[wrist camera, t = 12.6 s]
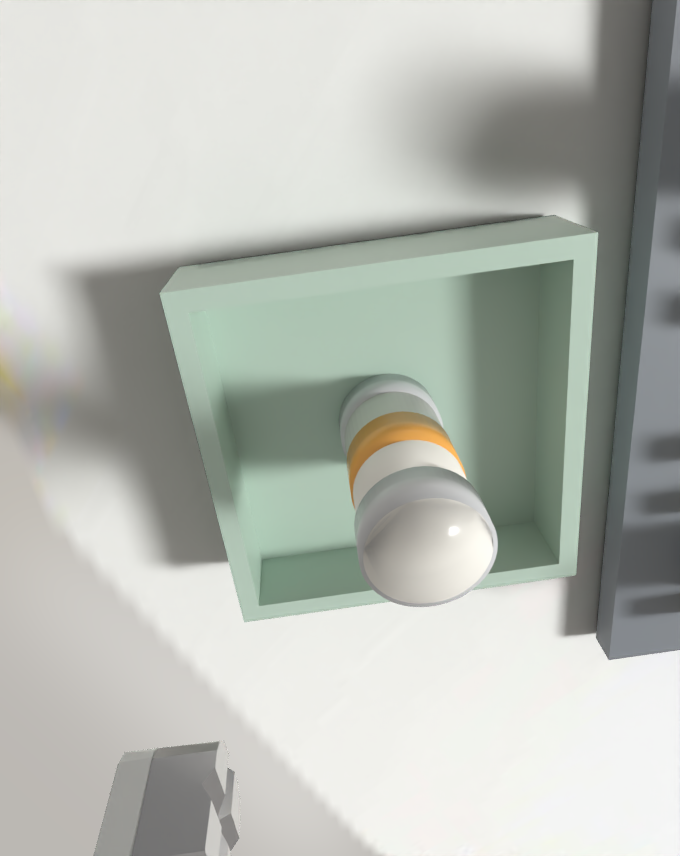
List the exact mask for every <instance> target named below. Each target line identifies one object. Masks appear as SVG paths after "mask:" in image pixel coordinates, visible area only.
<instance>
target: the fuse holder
mask: <svg viewBox="0 0 680 856" xmlns="http://www.w3.org/2000/svg"><path fill="white" fill-rule="evenodd" d="M596 639H597V640H598V642H599V644H600V646H601V647H602V649H603V651H604V652H605V654H606V656H607V658H608V659H609V660H612V659H619V658H626V657H633V656H640V655H647V654H654V653H661V652H668V651H676V650H680V0H653V2H652V13H651V24H650V36H649V47H648V58H647V69H646V81H645V92H644V103H643V115H642V126H641V137H640V148H639V160H638V171H637V182H636V193H635V205H634V216H633V227H632V239H631V250H630V261H629V272H628V284H627V295H626V306H625V317H624V329H623V340H622V351H621V363H620V374H619V385H618V396H617V408H616V419H615V430H614V442H613V453H612V464H611V475H610V487H609V498H608V509H607V520H606V532H605V543H604V554H603V566H602V577H601V588H600V599H599V611H598V622H597V633H596Z"/></svg>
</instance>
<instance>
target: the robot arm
mask: <svg viewBox="0 0 680 856" xmlns="http://www.w3.org/2000/svg"><path fill="white" fill-rule="evenodd" d="M228 755H229V753H228V751H227V748H226V745H225V742H224V741H216V742H208V743H199V744H191V745H182V746H174V747H165V748H154V749H147V750H140V751H132V752H126V753H124V755H123V757H122V758H121V760H120V762H119V764H118V766H117V770H116V774H115V777H114V781H113V785H112V788H111V792H110V796H109V800H108V803H107V807H106V811H105V815H104V819H103V822H102V826H101V829H100V833H99V837H98V841H97V844H96V848H95V852H94V856H232V855H231V852H230V851H231V850H232V848H233V847H234V845H235V844H236V842H237V841H238V839H239V834H240V818H241V816H240V795H239V788H238V782H237V779H236V776H235V772H234V771H232V770H231V769H229V768H227V767H228Z"/></svg>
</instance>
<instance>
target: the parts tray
mask: <svg viewBox="0 0 680 856" xmlns="http://www.w3.org/2000/svg"><path fill="white" fill-rule="evenodd" d="M597 246H598V232H596V231H594V230H591V229H589V228H586V227H584V226H581V225H579V224H576V223H573V222H571V221H568V220H566V219H563V218H561V217H558V216H556V215H551V216H543V217H536V218H529V219H522V220H514V221H507V222H500V223H493V224H486V225H478V226H471V227H464V228H457V229H450V230H442V231H435V232H428V233H421V234H414V235H406V236H399V237H392V238H385V239H378V240H370V241H363V242H356V243H349V244H342V245H334V246H327V247H320V248H313V249H306V250H298V251H291V252H284V253H277V254H269V255H262V256H255V257H248V258H241V259H233V260H226V261H219V262H212V263H205V264H197V265H190V266H183V267H179V268H178V269H177V270H176V272H175V273H174V274H173V276H172V277H171V278H170V280H169V281H168V282H167V284H166V285H165V286H164V288H163V289H162V290H161V292H160V293H159V294H160V298H161V301H162V305H163V309H164V313H165V317H166V321H167V325H168V329H169V332H170V336H171V340H172V344H173V348H174V352H175V356H176V360H177V363H178V367H179V371H180V375H181V379H182V383H183V387H184V391H185V394H186V398H187V402H188V406H189V410H190V414H191V418H192V422H193V425H194V429H195V433H196V437H197V441H198V445H199V449H200V452H201V456H202V460H203V464H204V468H205V472H206V476H207V480H208V483H209V487H210V491H211V495H212V499H213V503H214V507H215V511H216V514H217V518H218V522H219V526H220V530H221V534H222V538H223V542H224V545H225V549H226V553H227V557H228V561H229V565H230V569H231V573H232V576H233V580H234V584H235V588H236V592H237V596H238V600H239V603H240V607H241V611H242V615H243V619H244V622H249V621H257V620H264V619H271V618H278V617H285V616H292V615H299V614H306V613H313V612H320V611H328V610H335V609H342V608H349V607H356V606H363V605H370V604H377V603H384V602H391V601H389V600H387V599H385V598H383V597H382V596H380V595H379V594H377V593H376V592H375V591H374V590H373V589H372V588H371V587H370V586H369V585H368V584H367V582H366V581H365V579H364V577H363V575H362V573H361V570H360V565H359V560H358V553H357V546H356V539H355V532H354V520H355V515H356V512H355V509H354V506H353V503H352V498H351V492H350V485H349V479H348V472H347V462H346V461H347V457H346V455H345V453H344V451H343V448H342V443H341V436H340V429H339V413H340V408H341V406H342V403H343V401H344V399H345V398H346V396H347V395H348V393H349V392H350V391H351V390H352V389H353V388H354V387H355V386H356V385H358V384H359V383H361V382H362V381H364V380H366V379H368V378H370V377H373V376H376V375H381V374H400V375H404V376H408V377H410V378H412V379H414V380H416V381H418V382H419V383H420V384H422V385H423V386H424V387H425V388H426V389H427V391H428V392H429V394H430V395H431V397H432V399H433V401H434V403H435V405H436V407H437V409H438V411H439V414H440V416H441V418H442V422H443V429H444V430H445V431H446V433H447V434H448V436H449V438H450V440H451V442H452V445H453V447H454V449H455V451H456V453H457V455H458V457H459V459H460V461H461V463H462V466H463V468H464V470H465V474H466V478H467V481H469V482H470V483H471V484H472V486H473V487H474V488H475V489H476V491H477V492H478V494H479V496H480V498H481V500H482V502H483V504H484V506H485V508H486V511H487V513H488V515H489V517H490V519H491V521H492V523H493V525H494V527H495V530H496V534H497V539H498V549H497V555H496V559H495V561H494V564H493V566H492V568H491V570H490V571H489V573H488V574H487V576H486V577H485V578H484V579H483V580H482V581H481V583H480V584H479V585H477V586H476V587H475V588H474V589H473V590H477V589H484V588H491V587H498V586H505V585H512V584H519V583H526V582H533V581H540V580H548V579H555V578H562V577H569V576H576V570H577V555H578V540H579V524H580V509H581V493H582V478H583V462H584V447H585V432H586V416H587V401H588V385H589V370H590V354H591V339H592V323H593V308H594V293H595V277H596V262H597Z"/></svg>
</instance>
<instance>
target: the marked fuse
mask: <svg viewBox="0 0 680 856" xmlns="http://www.w3.org/2000/svg"><path fill="white" fill-rule="evenodd" d="M339 429H340V436H341V443H342V448H343V451H344V453H345V455H346V457H347V461H346V462H347V472H348V479H349V485H350V492H351V498H352V503H353V506H354V509H355V512H356V515H355V520H354V532H355V539H356V546H357V553H358V560H359V565H360V570H361V573H362V575H363V577H364V579H365V581H366V582H367V584H368V585H369V586H370V587H371V588H372V589H373V590H374V591H375V592H376V593H377V594H379V595H380V596H382V597H383V598H385V599H387V600H389V601H391V602H394V603H397V604H400V605H405V606H412V607H428V606H436V605H441V604H444V603H448V602H451V601H453V600H455V599H458V598H460V597H462V596H464V595H465V594H467V593H468V592H470V591H471V590H473V589H474V588H475V587H476V586H477V585H479V584H480V583H481V581H482V580H483V579H484V578H485V577H486V576H487V574H488V573H489V571H490V570H491V568H492V566H493V564H494V561H495V559H496V555H497V549H498V539H497V534H496V530H495V527H494V525H493V523H492V521H491V519H490V517H489V515H488V513H487V511H486V508H485V506H484V504H483V502H482V500H481V498H480V496H479V494H478V492H477V491H476V489H475V488H474V487H473V486H472V484H471V483H470V482H469V481H467V478H466V474H465V470H464V468H463V466H462V463H461V461H460V459H459V457H458V455H457V453H456V451H455V449H454V447H453V445H452V442H451V440H450V438H449V436H448V434H447V433H446V431H445V430H444V429H443V422H442V418H441V416H440V414H439V411H438V409H437V407H436V405H435V403H434V401H433V399H432V397H431V395H430V394H429V392H428V391H427V389H426V388H425V387H424V386H423V385H422V384H420V383H419V382H418V381H416V380H414V379H412V378H410V377H408V376H404V375H400V374H381V375H376V376H373V377H370V378H368V379H366V380H364V381H362V382H361V383H359V384H358V385H356V386H355V387H354V388H353V389H352V390H351V391H350V392H349V393H348V395H347V396H346V398H345V399H344V401H343V403H342V406H341V408H340V413H339Z"/></svg>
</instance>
